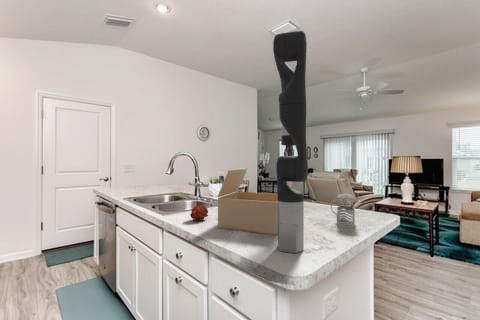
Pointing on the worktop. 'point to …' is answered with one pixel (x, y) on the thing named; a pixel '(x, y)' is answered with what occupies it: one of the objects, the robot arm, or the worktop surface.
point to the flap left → (232, 181)
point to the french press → (343, 221)
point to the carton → (249, 212)
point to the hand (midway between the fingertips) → (288, 172)
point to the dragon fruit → (199, 213)
